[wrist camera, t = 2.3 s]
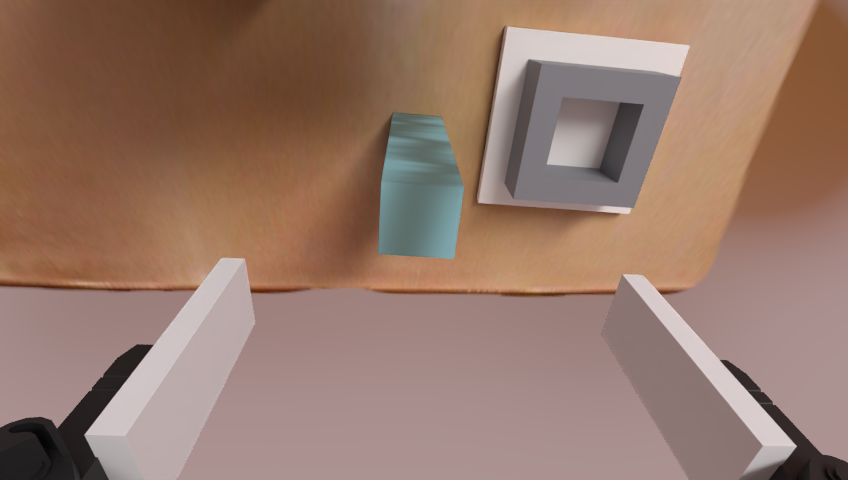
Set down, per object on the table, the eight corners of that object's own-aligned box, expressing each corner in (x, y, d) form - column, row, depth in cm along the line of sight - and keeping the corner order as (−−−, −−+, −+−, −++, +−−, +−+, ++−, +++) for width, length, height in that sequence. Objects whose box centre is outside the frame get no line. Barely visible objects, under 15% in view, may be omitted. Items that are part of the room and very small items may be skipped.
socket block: (476, 198, 37) (484, 220, 34) (504, 26, 31) (518, 27, 27) (624, 209, 38) (648, 231, 34) (682, 44, 32) (721, 48, 28)
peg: (390, 159, 35) (378, 253, 21) (393, 112, 34) (381, 181, 20) (436, 163, 36) (453, 258, 22) (441, 116, 34) (464, 188, 20)
